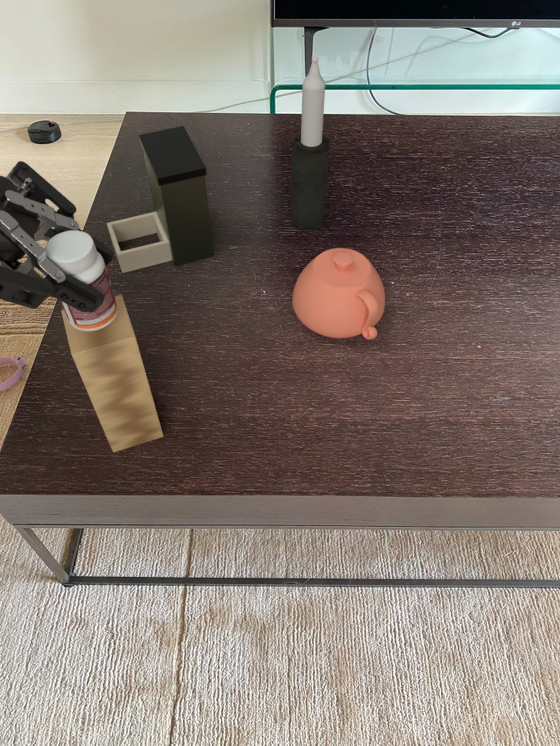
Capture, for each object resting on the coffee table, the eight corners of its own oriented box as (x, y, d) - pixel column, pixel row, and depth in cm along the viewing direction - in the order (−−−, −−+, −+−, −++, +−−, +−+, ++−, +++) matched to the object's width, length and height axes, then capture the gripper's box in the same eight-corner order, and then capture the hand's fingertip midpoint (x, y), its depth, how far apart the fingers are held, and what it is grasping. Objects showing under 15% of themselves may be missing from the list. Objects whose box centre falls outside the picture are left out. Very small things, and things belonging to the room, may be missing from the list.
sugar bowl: (347, 271, 90) (354, 213, 82) (408, 333, 82) (422, 277, 74) (275, 303, 86) (274, 246, 78) (332, 371, 79) (338, 317, 70)
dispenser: (173, 267, 90) (157, 178, 78) (155, 224, 96) (138, 134, 84) (215, 256, 92) (206, 167, 79) (195, 214, 97) (183, 125, 85)
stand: (113, 452, 71) (71, 354, 57) (102, 412, 75) (60, 310, 60) (163, 436, 73) (135, 336, 58) (151, 397, 76) (121, 294, 62)
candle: (293, 206, 99) (296, 45, 79) (325, 209, 98) (336, 47, 78) (290, 227, 95) (292, 65, 76) (323, 230, 95) (334, 67, 75)
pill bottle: (129, 308, 59) (110, 239, 52) (94, 340, 56) (69, 272, 50) (91, 288, 60) (68, 219, 54) (56, 319, 58) (27, 251, 51)
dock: (122, 273, 89) (117, 255, 87) (111, 241, 94) (106, 222, 91) (172, 260, 91) (168, 242, 88) (159, 229, 95) (155, 211, 92)
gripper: (-117, 196, 39) (116, 322, 49) (-48, 79, 48) (138, 206, 57) (-155, 260, 43) (66, 364, 53) (-86, 142, 52) (94, 250, 61)
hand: (102, 281), depth 55 cm, fingers closed on pill bottle, 4 cm apart
